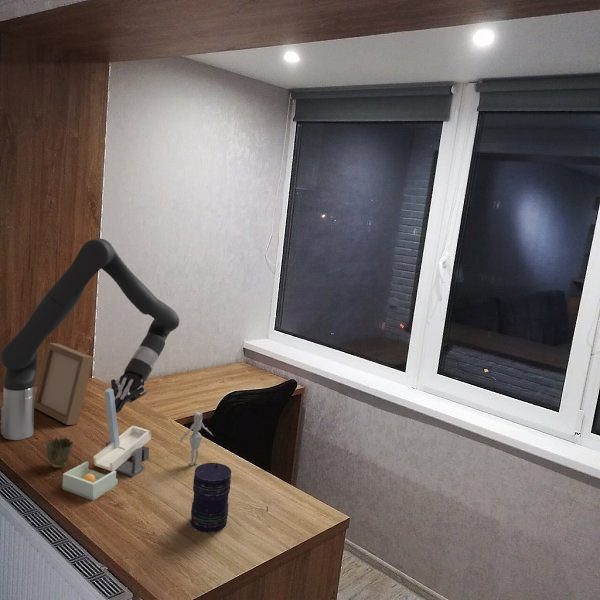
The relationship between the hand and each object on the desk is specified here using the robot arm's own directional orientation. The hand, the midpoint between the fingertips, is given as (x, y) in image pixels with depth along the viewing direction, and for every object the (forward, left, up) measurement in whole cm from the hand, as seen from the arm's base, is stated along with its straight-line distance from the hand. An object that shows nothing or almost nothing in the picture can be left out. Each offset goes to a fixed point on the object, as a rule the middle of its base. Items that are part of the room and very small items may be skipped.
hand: (114, 411), depth 173 cm
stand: (+3, +5, -18) cm, 19 cm away
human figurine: (+20, +15, -19) cm, 31 cm away
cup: (-13, -9, -19) cm, 24 cm away
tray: (+3, -13, -18) cm, 23 cm away
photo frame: (-41, +23, -19) cm, 51 cm away
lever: (+3, +1, -12) cm, 13 cm away
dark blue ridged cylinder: (+41, -10, -19) cm, 46 cm away
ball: (+3, -13, -16) cm, 21 cm away
